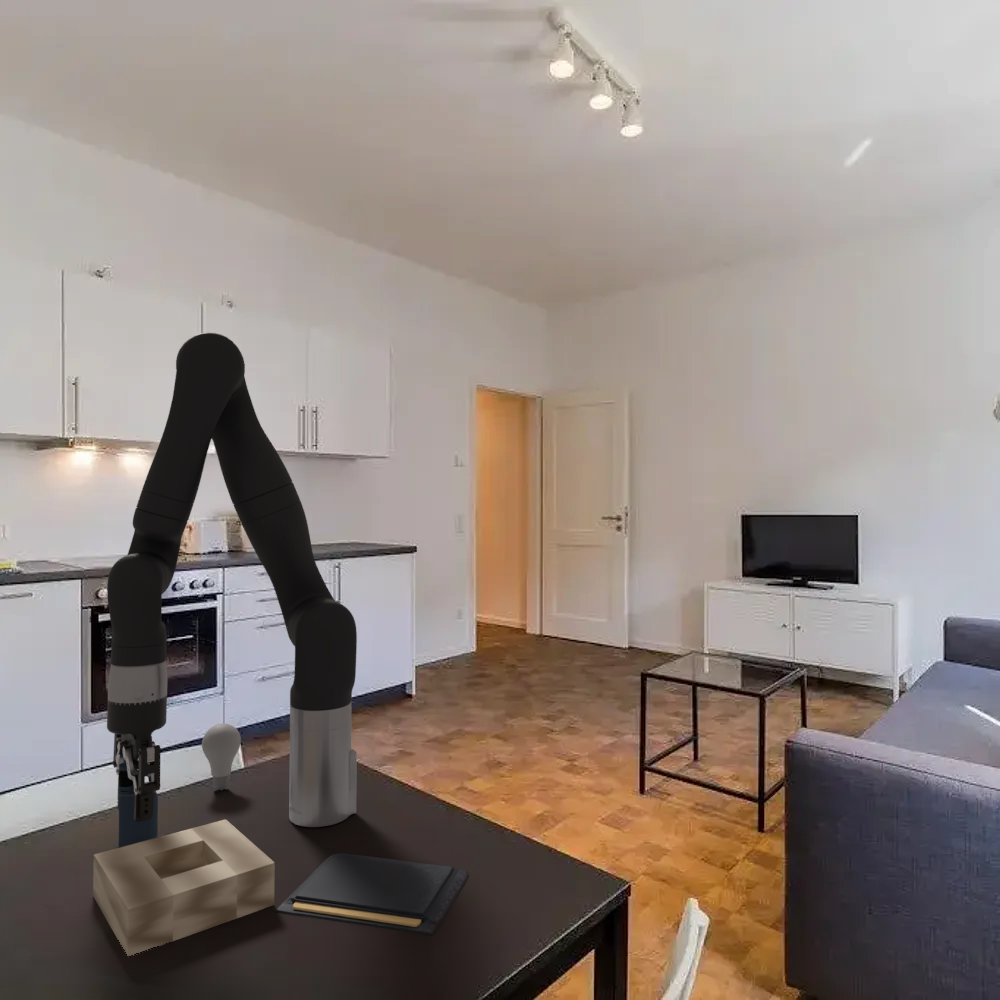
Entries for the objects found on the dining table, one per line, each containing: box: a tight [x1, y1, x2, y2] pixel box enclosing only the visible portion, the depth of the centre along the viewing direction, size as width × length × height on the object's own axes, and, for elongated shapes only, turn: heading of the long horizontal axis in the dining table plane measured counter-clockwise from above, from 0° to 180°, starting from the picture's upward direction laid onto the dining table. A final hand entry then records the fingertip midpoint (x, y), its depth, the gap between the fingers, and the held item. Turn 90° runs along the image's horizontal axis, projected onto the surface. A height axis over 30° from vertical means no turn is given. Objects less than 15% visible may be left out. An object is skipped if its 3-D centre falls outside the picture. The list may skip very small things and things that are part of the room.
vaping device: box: [116, 760, 159, 847], centre depth 104 cm, size 3×5×12 cm, turn 95°
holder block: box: [92, 819, 276, 957], centre depth 89 cm, size 16×16×5 cm
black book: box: [274, 852, 469, 936], centre depth 91 cm, size 20×2×15 cm
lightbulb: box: [201, 723, 242, 791], centre depth 123 cm, size 6×6×11 cm
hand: (134, 810), depth 104 cm, fingers open, 8 cm apart
